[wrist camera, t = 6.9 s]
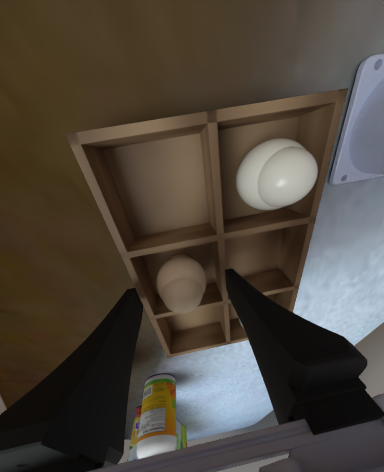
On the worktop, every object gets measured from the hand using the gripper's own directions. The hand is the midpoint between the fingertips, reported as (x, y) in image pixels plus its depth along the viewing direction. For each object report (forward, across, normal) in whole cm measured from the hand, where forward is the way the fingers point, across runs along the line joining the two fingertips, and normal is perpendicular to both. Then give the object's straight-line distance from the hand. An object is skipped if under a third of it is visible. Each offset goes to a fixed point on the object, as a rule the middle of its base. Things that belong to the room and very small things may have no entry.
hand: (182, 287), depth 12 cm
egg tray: (+4, -4, 0) cm, 5 cm away
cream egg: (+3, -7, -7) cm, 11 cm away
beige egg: (+3, 0, 0) cm, 3 cm away
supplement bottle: (+4, +8, +25) cm, 27 cm away
